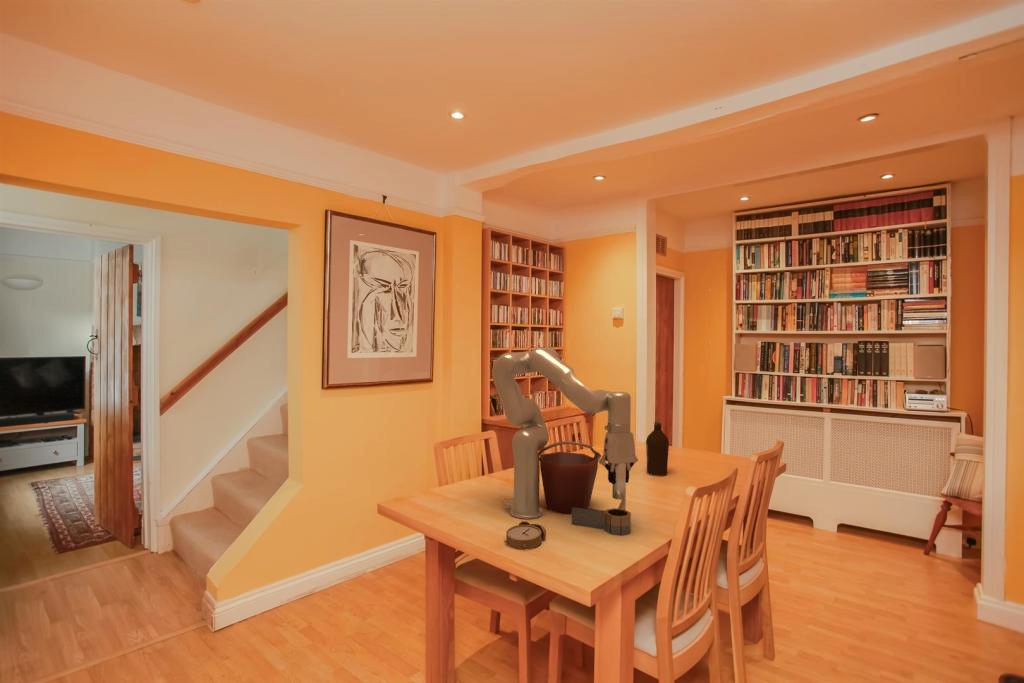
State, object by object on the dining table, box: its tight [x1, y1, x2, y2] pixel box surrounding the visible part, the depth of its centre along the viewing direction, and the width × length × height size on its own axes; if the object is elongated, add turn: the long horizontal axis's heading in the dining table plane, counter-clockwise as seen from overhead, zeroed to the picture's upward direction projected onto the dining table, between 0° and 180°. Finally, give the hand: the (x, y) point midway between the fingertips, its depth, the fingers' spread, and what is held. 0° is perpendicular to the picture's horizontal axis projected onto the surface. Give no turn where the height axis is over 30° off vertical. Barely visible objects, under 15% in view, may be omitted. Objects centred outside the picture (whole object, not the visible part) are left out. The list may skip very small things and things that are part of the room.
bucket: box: [538, 440, 602, 515], centre depth 194 cm, size 24×22×25 cm
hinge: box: [570, 499, 632, 536], centre depth 179 cm, size 20×20×6 cm
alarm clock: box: [504, 520, 547, 550], centre depth 162 cm, size 11×5×15 cm
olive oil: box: [645, 421, 670, 476], centre depth 245 cm, size 11×11×25 cm
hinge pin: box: [611, 463, 627, 501], centre depth 171 cm, size 4×4×14 cm
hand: (618, 481), depth 171 cm, fingers closed on hinge pin, 4 cm apart
